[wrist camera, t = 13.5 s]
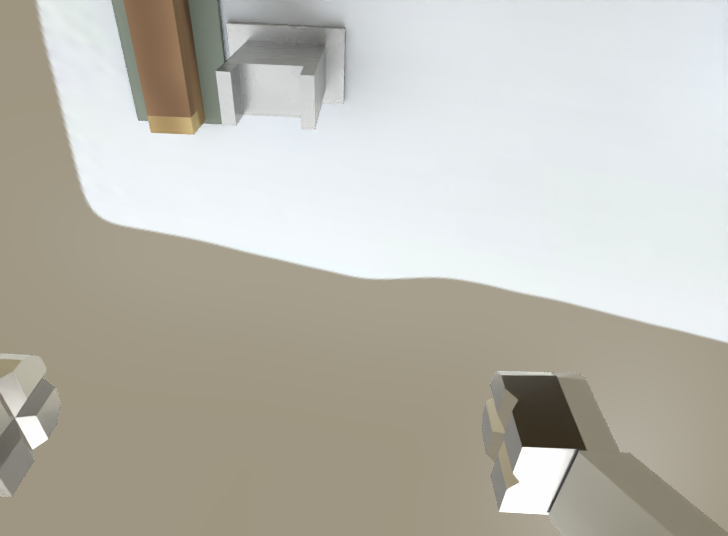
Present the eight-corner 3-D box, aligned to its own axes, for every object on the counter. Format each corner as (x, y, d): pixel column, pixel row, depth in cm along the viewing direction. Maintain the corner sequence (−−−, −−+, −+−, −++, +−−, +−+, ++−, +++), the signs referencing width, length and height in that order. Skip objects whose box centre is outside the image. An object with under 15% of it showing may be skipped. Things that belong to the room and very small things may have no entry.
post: (345, 27, 34) (338, 57, 27) (343, 101, 37) (337, 146, 30) (228, 22, 34) (188, 50, 27) (236, 96, 37) (202, 140, 29)
